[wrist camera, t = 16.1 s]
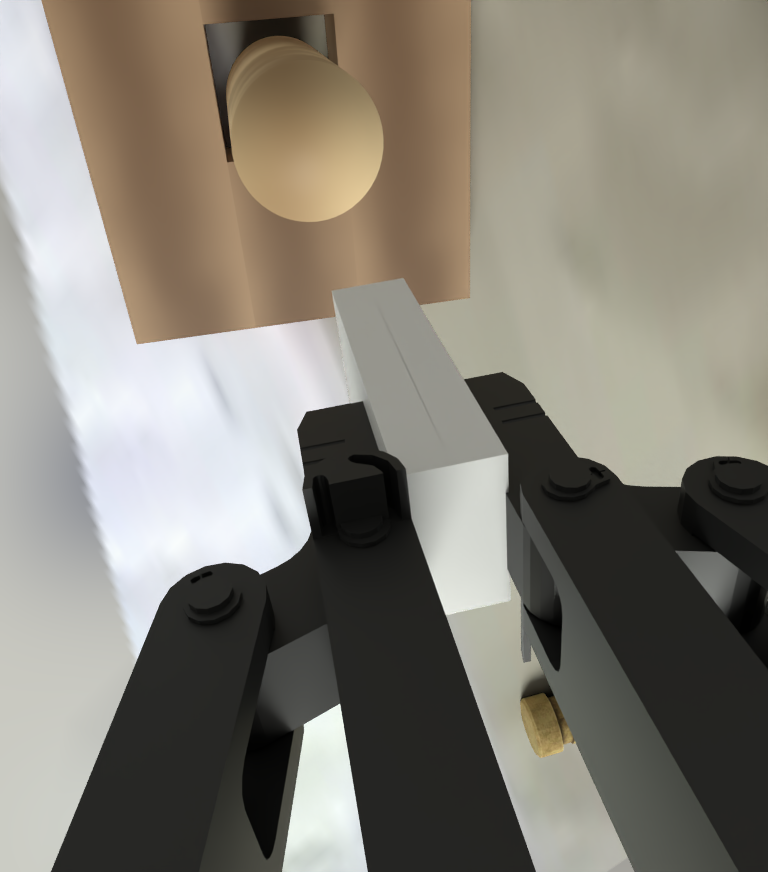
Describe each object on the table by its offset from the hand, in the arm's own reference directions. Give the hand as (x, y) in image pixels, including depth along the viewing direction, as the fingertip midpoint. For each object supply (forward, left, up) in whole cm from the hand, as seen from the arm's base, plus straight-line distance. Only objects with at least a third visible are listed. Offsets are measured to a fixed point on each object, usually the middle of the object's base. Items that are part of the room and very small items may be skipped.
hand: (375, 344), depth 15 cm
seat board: (0, -3, -21) cm, 21 cm away
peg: (0, -3, -21) cm, 21 cm away
